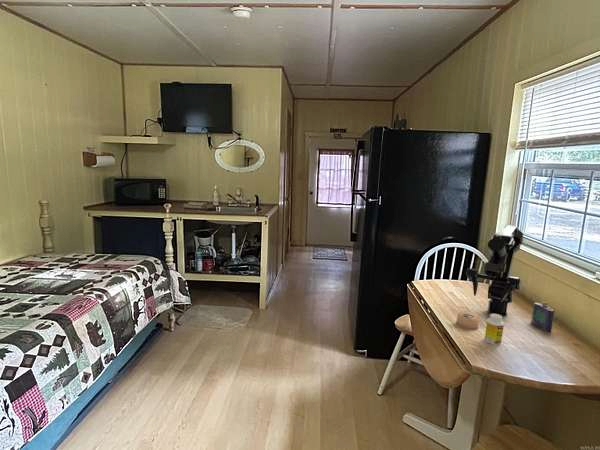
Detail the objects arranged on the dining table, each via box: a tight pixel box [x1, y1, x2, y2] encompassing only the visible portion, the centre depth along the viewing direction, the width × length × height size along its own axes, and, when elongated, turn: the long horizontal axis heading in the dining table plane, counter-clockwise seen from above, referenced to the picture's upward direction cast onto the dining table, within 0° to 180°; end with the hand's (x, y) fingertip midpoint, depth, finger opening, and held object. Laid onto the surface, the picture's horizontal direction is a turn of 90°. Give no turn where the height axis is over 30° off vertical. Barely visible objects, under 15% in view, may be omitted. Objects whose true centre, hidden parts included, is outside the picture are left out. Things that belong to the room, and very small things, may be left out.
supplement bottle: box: [484, 313, 505, 346], centre depth 132 cm, size 6×6×10 cm
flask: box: [530, 301, 555, 333], centre depth 145 cm, size 9×3×11 cm, turn 8°
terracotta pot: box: [456, 311, 480, 331], centre depth 146 cm, size 8×8×4 cm
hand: (487, 298), depth 138 cm, fingers open, 9 cm apart
